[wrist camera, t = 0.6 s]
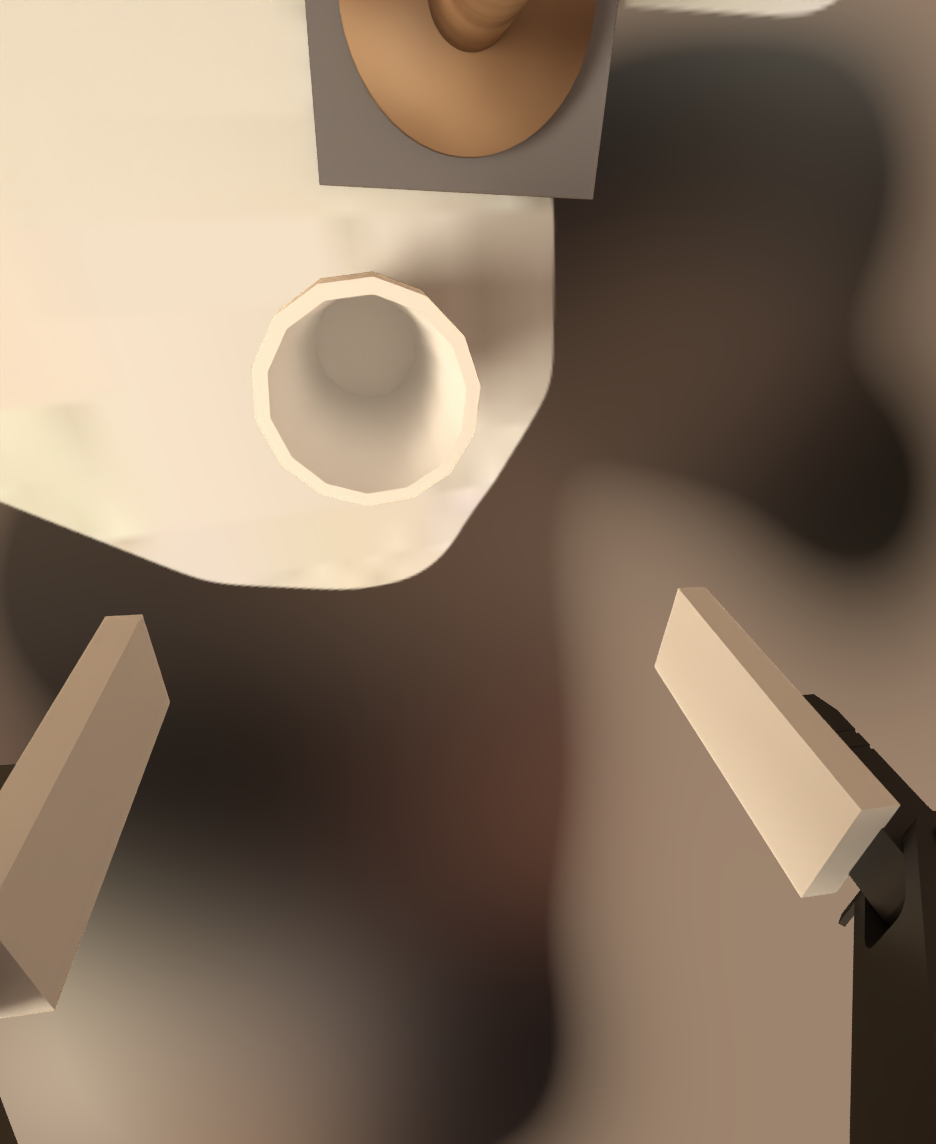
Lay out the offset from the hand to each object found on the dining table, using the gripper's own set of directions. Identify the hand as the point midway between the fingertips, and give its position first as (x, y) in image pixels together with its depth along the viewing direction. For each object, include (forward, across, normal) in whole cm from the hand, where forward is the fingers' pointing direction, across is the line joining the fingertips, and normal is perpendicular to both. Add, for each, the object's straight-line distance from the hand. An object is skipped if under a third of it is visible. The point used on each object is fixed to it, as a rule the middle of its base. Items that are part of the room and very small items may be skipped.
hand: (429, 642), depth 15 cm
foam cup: (+26, -1, +2) cm, 26 cm away
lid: (+26, +4, +18) cm, 31 cm away
